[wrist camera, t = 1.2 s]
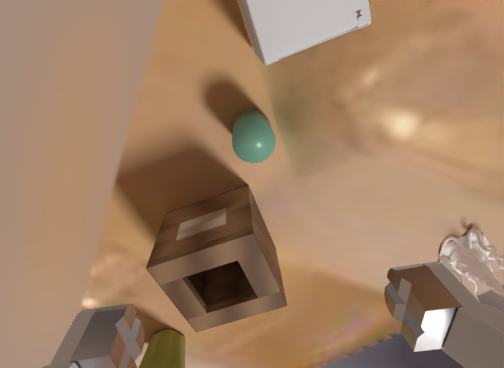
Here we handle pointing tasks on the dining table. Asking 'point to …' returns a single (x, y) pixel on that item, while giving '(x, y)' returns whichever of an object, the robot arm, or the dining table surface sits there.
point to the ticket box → (218, 261)
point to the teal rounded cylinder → (252, 136)
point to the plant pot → (165, 350)
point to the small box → (299, 23)
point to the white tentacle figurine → (471, 260)
